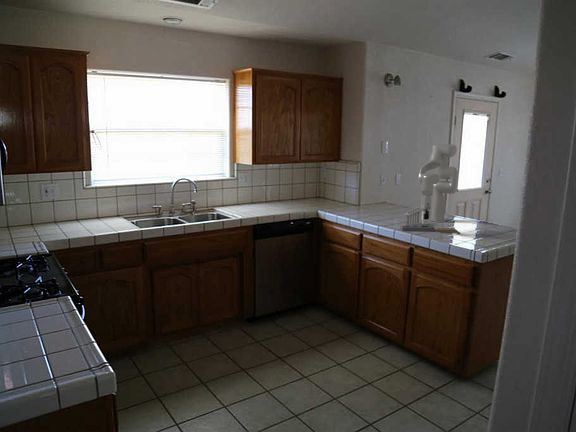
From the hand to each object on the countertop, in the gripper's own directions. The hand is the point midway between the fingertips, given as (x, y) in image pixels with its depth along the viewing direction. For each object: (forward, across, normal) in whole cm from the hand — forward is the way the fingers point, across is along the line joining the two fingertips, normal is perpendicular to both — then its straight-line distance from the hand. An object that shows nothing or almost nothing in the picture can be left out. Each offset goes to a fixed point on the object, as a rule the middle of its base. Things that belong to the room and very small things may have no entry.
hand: (425, 218), depth 308 cm
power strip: (+9, 0, -5) cm, 11 cm away
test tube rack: (+10, -15, -5) cm, 19 cm away
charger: (+4, 0, 0) cm, 4 cm away
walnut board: (+9, 0, +16) cm, 18 cm away
